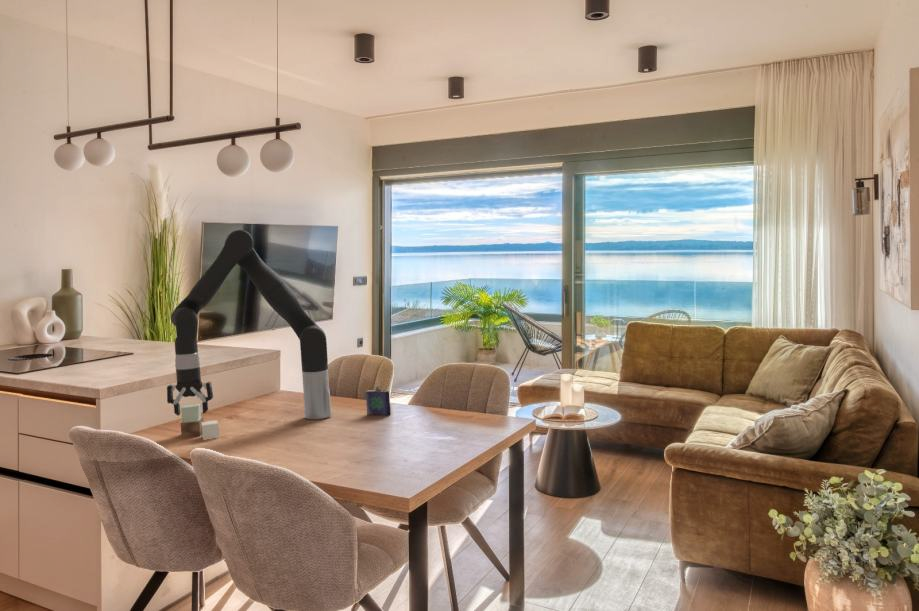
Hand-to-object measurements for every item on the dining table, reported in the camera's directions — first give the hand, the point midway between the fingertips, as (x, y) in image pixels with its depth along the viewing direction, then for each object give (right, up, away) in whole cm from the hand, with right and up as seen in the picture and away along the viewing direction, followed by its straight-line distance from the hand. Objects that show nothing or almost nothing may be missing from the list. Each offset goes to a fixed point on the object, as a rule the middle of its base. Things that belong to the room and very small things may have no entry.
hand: (191, 413), depth 223 cm
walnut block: (0, -7, 0) cm, 7 cm away
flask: (+62, -3, +16) cm, 64 cm away
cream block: (+8, -7, -4) cm, 12 cm away
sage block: (0, -2, 0) cm, 2 cm away
